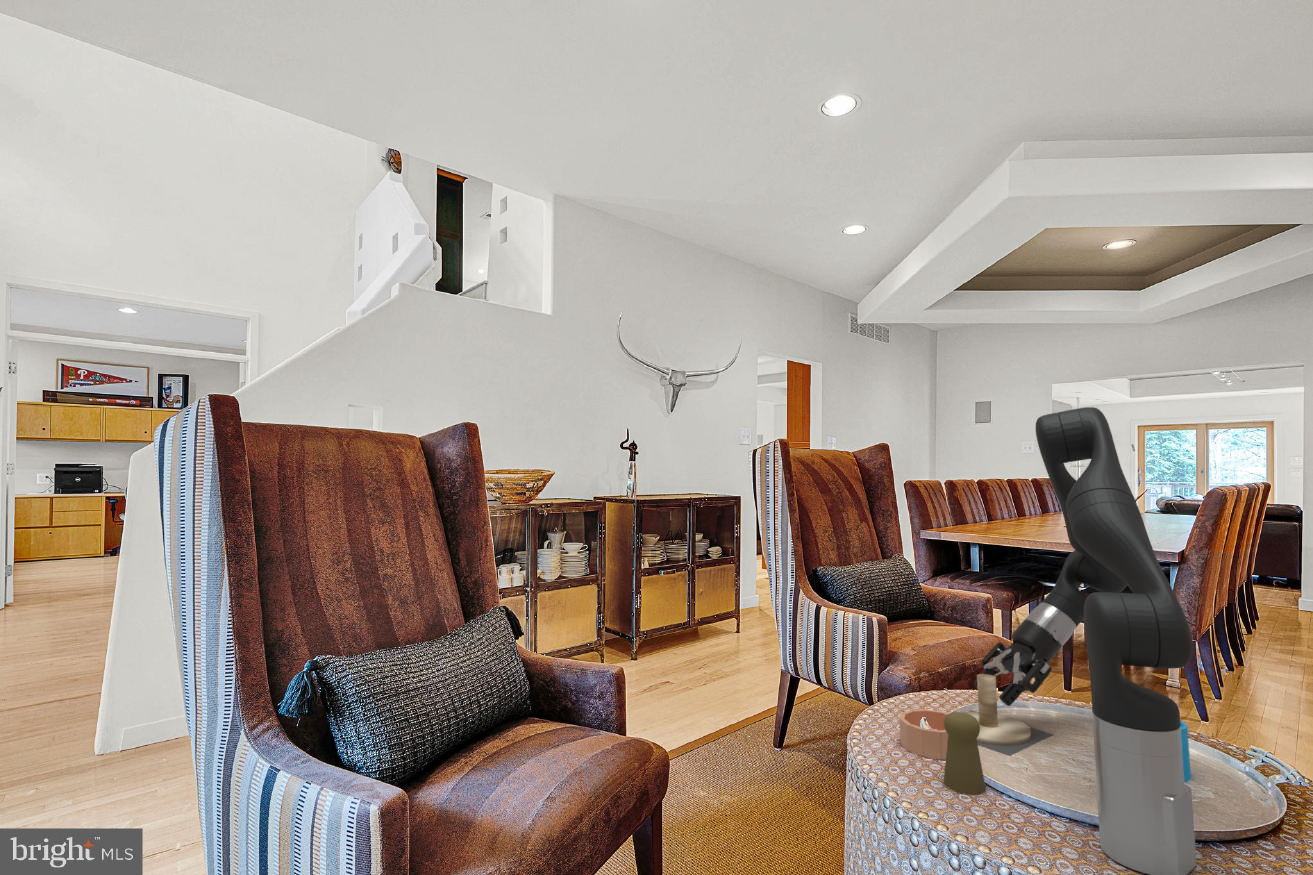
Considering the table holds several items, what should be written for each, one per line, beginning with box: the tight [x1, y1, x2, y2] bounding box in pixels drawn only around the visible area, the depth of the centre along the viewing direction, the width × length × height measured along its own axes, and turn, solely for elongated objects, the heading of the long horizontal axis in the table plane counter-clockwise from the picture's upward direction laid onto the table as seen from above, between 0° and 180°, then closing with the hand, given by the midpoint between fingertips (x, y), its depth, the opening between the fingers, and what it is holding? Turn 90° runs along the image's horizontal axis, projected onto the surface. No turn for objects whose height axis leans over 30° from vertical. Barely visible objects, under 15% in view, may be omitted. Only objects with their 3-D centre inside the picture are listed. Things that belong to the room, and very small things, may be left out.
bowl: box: [899, 708, 950, 761], centre depth 116 cm, size 11×11×5 cm
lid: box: [961, 673, 1031, 746], centre depth 123 cm, size 14×14×10 cm
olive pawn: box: [943, 711, 987, 795], centre depth 102 cm, size 6×6×11 cm
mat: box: [967, 709, 1054, 757], centre depth 123 cm, size 16×16×1 cm
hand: (990, 694), depth 124 cm, fingers open, 8 cm apart
